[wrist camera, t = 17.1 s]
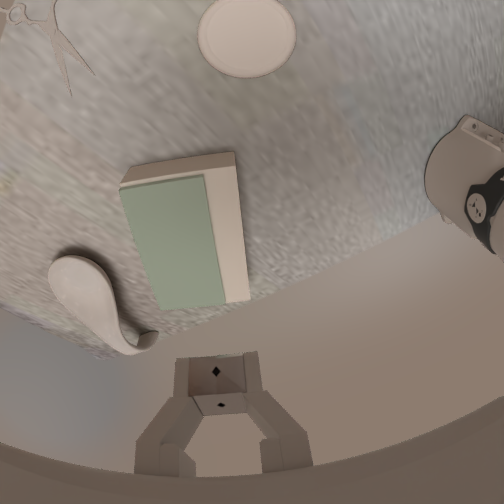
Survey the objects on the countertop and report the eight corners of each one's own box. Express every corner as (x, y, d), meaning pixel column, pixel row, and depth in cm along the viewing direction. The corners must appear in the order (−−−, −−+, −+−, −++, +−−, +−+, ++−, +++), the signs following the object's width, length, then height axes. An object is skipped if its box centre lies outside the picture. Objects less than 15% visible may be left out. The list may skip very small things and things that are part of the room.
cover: (203, 174, 31) (203, 177, 31) (225, 300, 43) (225, 304, 42) (120, 187, 31) (118, 190, 30) (161, 306, 43) (160, 310, 42)
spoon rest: (43, 263, 42) (27, 292, 37) (84, 231, 40) (67, 262, 34) (130, 342, 56) (124, 372, 50) (175, 325, 53) (172, 357, 48)
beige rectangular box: (233, 151, 35) (235, 165, 31) (247, 276, 47) (250, 299, 43) (130, 167, 35) (119, 183, 31) (166, 285, 47) (162, 308, 43)
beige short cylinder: (203, 80, 30) (201, 83, 27) (196, 1, 24) (193, -5, 21) (292, 74, 30) (299, 76, 27) (288, -4, 24) (294, -10, 21)
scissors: (56, -45, 15) (118, 61, 26) (59, -44, 16) (120, 61, 27) (-2, 10, 17) (52, 112, 28) (1, 10, 18) (55, 111, 29)
